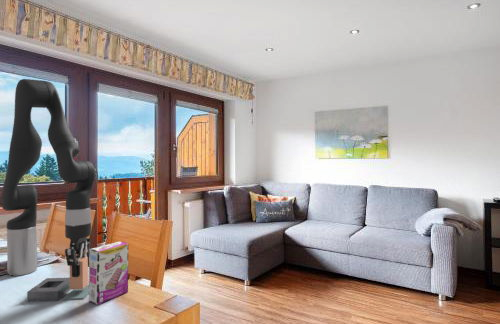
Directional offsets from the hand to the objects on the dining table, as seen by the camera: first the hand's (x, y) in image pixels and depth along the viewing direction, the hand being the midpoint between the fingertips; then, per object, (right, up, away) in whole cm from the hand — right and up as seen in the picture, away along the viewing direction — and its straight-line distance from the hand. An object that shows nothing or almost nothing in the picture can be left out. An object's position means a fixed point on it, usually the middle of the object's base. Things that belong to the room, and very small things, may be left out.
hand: (78, 273), depth 105 cm
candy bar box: (+11, -7, -3) cm, 13 cm away
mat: (+1, -6, 0) cm, 6 cm away
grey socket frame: (-8, -6, -1) cm, 11 cm away
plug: (0, -4, 0) cm, 4 cm away
